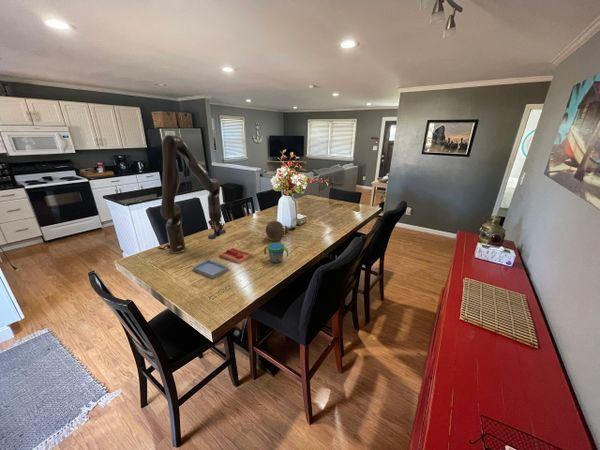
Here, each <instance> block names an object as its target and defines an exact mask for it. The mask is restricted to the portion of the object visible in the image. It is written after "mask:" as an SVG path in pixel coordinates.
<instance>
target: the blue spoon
mask: <svg viewBox="0 0 600 450" xmlns="http://www.w3.org/2000/svg"><path fill="white" fill-rule="evenodd" d="M226 233H227V230H226V228H223V229H222V230H221V231H220V236H222V235H224V234H226ZM217 237H218V236H217V233H216V232H215V233H214V232H213V234H211V233H210V234H208V235H207V239H208V240H215V239H216V238H217Z"/></svg>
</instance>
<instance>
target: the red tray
mask: <svg viewBox="0 0 600 450" xmlns="http://www.w3.org/2000/svg"><path fill="white" fill-rule="evenodd" d="M229 250H232V251H235V252H238V254H239V253H242V254H243V258H241V259H237V258H236V256H233V255H230V254H227V250H225V251H223V252H221V253H219V257H221V258H223V259H226V260H228V261H231V262H233V263H237V264H241V263H243V262H244V261H246V260H248V259H250V258H252V257H253V256H252V253H251V252H247V251H244V250H242V249H237V248H235V247H231V248H229Z"/></svg>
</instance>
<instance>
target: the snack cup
mask: <svg viewBox="0 0 600 450" xmlns="http://www.w3.org/2000/svg"><path fill="white" fill-rule="evenodd" d="M267 250H268V256H269V259H270V262H271V263H276V264H278V263H281V262H282V261H283V259H284V258H283V257H284V251H285V252H286V258H288V257H289V249H288V248H287V247H285V244H284V243H281V242H271V243H269V244H267V245H266V246H265V247H264V249H263V254H264V255H267Z"/></svg>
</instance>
